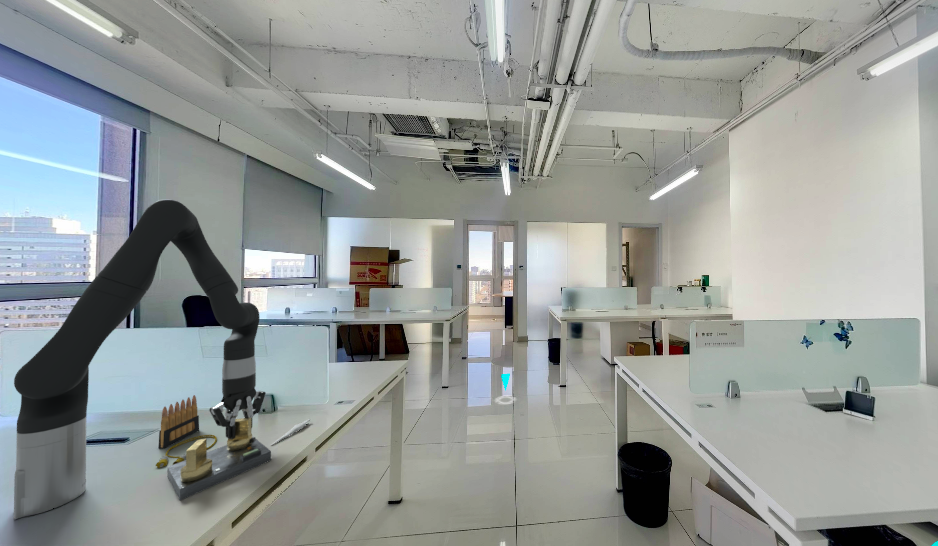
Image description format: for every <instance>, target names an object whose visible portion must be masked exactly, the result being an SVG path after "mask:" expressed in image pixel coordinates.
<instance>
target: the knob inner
mask: <svg viewBox="0 0 938 546" xmlns="http://www.w3.org/2000/svg"><path fill="white" fill-rule="evenodd" d="M207 439H208V438H200V439H196V440H195V442H194V443H193V444H192V445H191V446H190V447H189V448H187V449H186V450H185V451H186V452H185V454H186V466H184V467H183V468H182V469H181V478H180V480H181V481H182V482H190V481H194V480H197V479H200V478H202V477H204V476H206V475H207V474H209V473H210V472H211V471H212V460H211V459H207V450H208V449H207V448H208V447H207V444H208V443H207Z"/></svg>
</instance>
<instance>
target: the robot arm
mask: <svg viewBox="0 0 938 546" xmlns="http://www.w3.org/2000/svg"><path fill="white" fill-rule="evenodd" d="M127 237H128V238H126V240H125V241H124V243H123V244H122V245H121V246H120V247H119V249H118V250H117V251H116V252H115V254H114V255H113V256H112V258H110V259H109V261H108V263H107V264H106V265H105V266H104V267H103V268H102V270H101V271H100V272H98V274H97V275H96V276H95V277H94V279H93V280H92V281H91V282H90V284H88V286H87V287H86V289H85V290H84V291H83V293H82V294H81V295H80V297H79V298H78V300H77V302H76V303H75V304H74V305H73V307H72V308H71V311H70V312H69V313H68V315H67V317H66V318H65V320H64V322H63V323H62V325H61V326H60V327H59V329H58V331H56V333H54V335H53V336H52V337H51V338H50V340H48V341H47V342H46V343H45V344H44V345H43V347H42V348H40V350H39V351H38V352H37V353H36V354H35V355H33V356H32V357H31V359H29V360H28V361H27V362H26V363H25V364H23V365H22V366H21V367H20V368H19V369H18V371H17V372H16V374H15V376H14V379H13V385H14V388H15V390H16V391H17V393H19V395H20V397H21V399H20V409H19V414H18V417H17V420H16V445H15V446H16V451H15V453H16V454H15V455H16V456H15V460H16V461H15V470H14V471H15V472H14V479H13V480H14V481H13V482H14V484H13V485H14V488H13V491H14V494H13V498H14V499H13V520H17V519H21V518H24V517H29V516H34V515H37V514H38V515H39V514H41V513H46V512H47V511H51V510H53V508H54V509H56V508H58V507H60V506H64V505H65V504H68V503H70V502H72V501H73V500H75V499H77V498H78V497H79V496H81V495H82V494H84V493H85V491H86V488H87V415H88V414H87V413H88V412H87V411H88V410H87V409H88V403H89V381H90V380H89V378H90V377H89V375H90V373H89V371H90V370H89V368H90V367H89V366H90V364H91V362H92V361H93V359H94V357H95V356H96V354H97V352H98V350H99V349H100V347H101V346H102V345H103V343H104V341H106V339H107V338H108V337H109V335H110V334H111V333H113V332H114V331H115V330H116V329H117V328H118V326H120V325H121V323H122V322H123V321H124V320H126V318H127V317H128V316H129V315H130V314H131V313H132V312H133V310H134V309H135V308H136V307H137V305H138V304H139V303H140V302H141V300H142V299H143V297H144V296H145V295H146V293H147V291H149V289H150V287H151V286H152V283H153V281H154V278H155V276H156V272H157V268H158V264H159V260H160V258H161V256H162V253H163V251H165V249H166V247H167V246H168V245H169V244H170V242H171V243H172V244H173V245H174V246H175V247H176V248H177V249H178V250H179V251H180V252H181V254H182V256H184V258H185V260H186V261H187V263H188V266H189V268H190V270H191V272H192V275H193V277H194V278H195V281H196V282H197V283H198V285H199V287H200V288H201V290H203V292H204V293H205V295H206V296H207V298H208V299H209V303H210V306H211V310H212V312H213V315H214V317H215V319H216V321H217V323H218V324H219V325H220V326H222V327H223V328H224V329H227V330H231V334H230V336H229V337H228V338H227V339H225V340H224V343H223V361H222V362H223V363H222V372H221V373H222V375H221V376H222V379H221V381H222V382H221V391H222V398H221V401H220V403H218V404H217V405H215V406H211V407H210V408H209V410H208V411H209V412H210V415H211V416H212V418H213V420H214V422H215V424H216V425H217V426H218V427H222V428H225V438H227V440H228V439H231V440H232V439H234V438H235V425H234V424H235V420H236V419H237V417H238V415H239V412H240V411H242V415H243V418H251V430H252V428H253V417H254V416H255V415H257V414H260V411H261V408H262V405H263V402H264V400H265V398H266V397H265V396H266V391H262V390H256V385H257V381H256V380H257V377H256V376H257V366H256V365H257V363H256V355H255V354H256V353H255V350H256V348H255V346H256V344H255V339H256V337H257V333H258V330H259V323H260V312H259V309H258V308H257V305H255V304H254V303H251V302H240V301H239V300H238V298H237V294H238V292H239V288H238V286H237V283H236V282H235V281H234V280H233V278H232V277H231V274H229V272H228V271H227V269H226V268H225V266H224V265H223V264H222V263H221V261H220V260H219V259H218V257H217V256H216V255H215V253H214V252H213V250H212V248H211V247H210V245H209V244H208V241H207V239H206V238H205V235H204V233H203V229H202V228H201V224H200V223H199V220H198V218H197V216H196V215H195V214H194V213H193V212H192V211H191V210H190V209H189V208H188V207H187V206H186V205H185V204H184V203H181V202H180V201H178V200H175V199H170V198H169V199H159V200H157V201H155V202H153V203H152V204H150V205H148V207H147V208H146V209H145V210H144V212H143V213H142V215H141V216H140V217H139V220H138V221H137V223H136V225H135V226H134V228H133V230H132V231H131V233H130V234H129V236H127ZM224 408H225V409H226V410H225V412H224ZM223 412H224V413H225V414H223Z"/></svg>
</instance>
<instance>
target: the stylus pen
mask: <svg viewBox="0 0 938 546" xmlns="http://www.w3.org/2000/svg"><path fill="white" fill-rule="evenodd" d="M310 422H311V419H310V418H308V419H306V420H303V422H300V423H297V424H294V425H293V427H292V428H291V429H289V430H288V431H287V432H285V433H284V434H283V435H282V436H280V437H279V438H277V439H276V440H275V441H274V442H273V443H272V444H271V445H273V444H274V445H276V444H277V443H276V442H278V441H280V440H282V439H284V438H286V437H288V436H289V435H291V434H293V433H294V432H296V431H298V430H300V429H302V428H303V427H304V426H305V425H306V423H310ZM306 426H307V425H306ZM306 426H305V427H306ZM305 427H304V428H305ZM304 428H303V429H304ZM303 429H302V430H303ZM300 431H301V430H300ZM296 433H297V432H296ZM294 434H295V433H294ZM294 434H293V435H294ZM291 436H292V435H291ZM289 437H290V436H289ZM289 437H288V438H289ZM286 439H287V438H286ZM284 440H285V439H284ZM282 441H283V440H282ZM280 442H281V441H280ZM275 443H276V444H275ZM278 443H279V442H278ZM274 445H273V446H274Z"/></svg>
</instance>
